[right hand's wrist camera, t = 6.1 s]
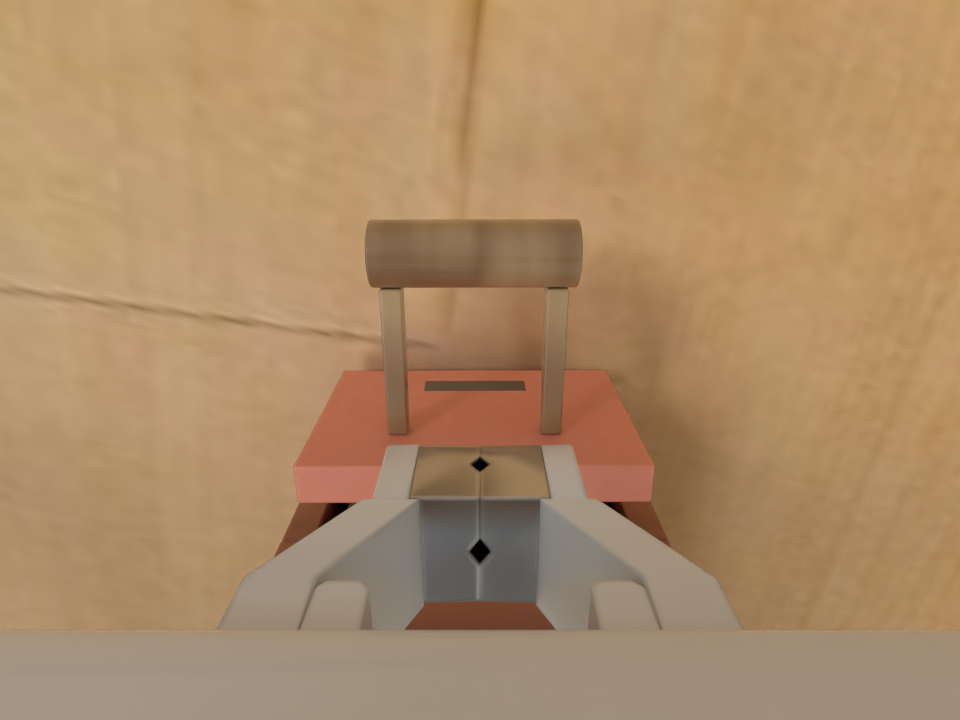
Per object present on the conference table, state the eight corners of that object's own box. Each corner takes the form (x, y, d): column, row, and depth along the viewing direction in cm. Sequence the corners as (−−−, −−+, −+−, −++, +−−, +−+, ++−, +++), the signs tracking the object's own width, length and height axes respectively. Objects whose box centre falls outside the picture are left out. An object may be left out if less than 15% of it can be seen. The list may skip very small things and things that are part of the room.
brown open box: (338, 416, 24) (270, 563, 16) (611, 415, 24) (679, 562, 16) (369, 748, 31) (332, 967, 23) (582, 746, 31) (619, 965, 23)
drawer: (328, 198, 20) (262, 233, 14) (619, 198, 20) (684, 232, 14) (374, 714, 29) (346, 878, 23) (578, 712, 29) (606, 876, 23)
